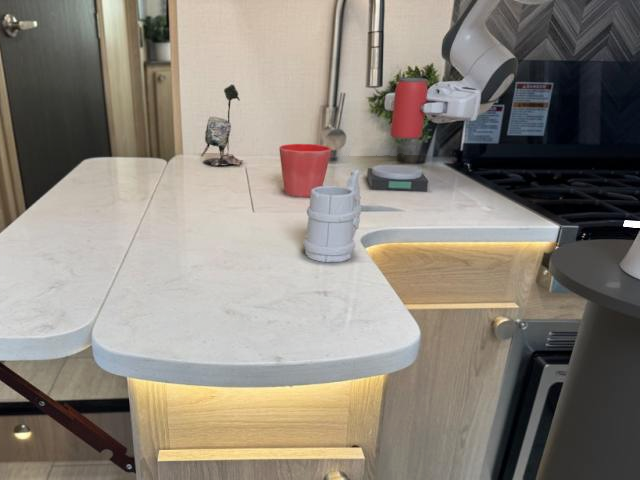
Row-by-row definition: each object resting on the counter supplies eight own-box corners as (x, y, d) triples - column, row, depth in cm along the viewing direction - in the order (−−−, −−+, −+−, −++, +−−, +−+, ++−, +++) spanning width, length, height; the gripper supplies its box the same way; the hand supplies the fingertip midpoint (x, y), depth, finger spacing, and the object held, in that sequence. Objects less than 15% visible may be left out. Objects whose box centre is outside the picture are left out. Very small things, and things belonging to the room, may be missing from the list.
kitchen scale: (417, 179, 133) (419, 164, 132) (427, 191, 122) (429, 175, 120) (366, 178, 135) (368, 163, 133) (371, 190, 123) (372, 174, 122)
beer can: (384, 137, 122) (390, 78, 117) (401, 134, 126) (407, 77, 121) (410, 141, 118) (418, 80, 113) (427, 137, 122) (435, 78, 117)
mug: (293, 255, 85) (296, 176, 80) (335, 237, 93) (340, 164, 88) (335, 267, 80) (342, 184, 75) (376, 247, 88) (384, 171, 83)
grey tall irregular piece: (208, 160, 155) (207, 83, 146) (247, 163, 151) (248, 84, 143) (197, 165, 148) (194, 85, 139) (237, 168, 144) (237, 86, 136)
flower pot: (309, 185, 128) (311, 141, 123) (337, 195, 119) (341, 149, 115) (269, 190, 123) (270, 144, 119) (295, 201, 114) (297, 153, 110)
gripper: (407, 84, 133) (369, 87, 125) (488, 90, 118) (451, 94, 110) (404, 112, 135) (367, 117, 127) (483, 121, 121) (446, 127, 113)
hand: (407, 106), depth 119 cm, fingers closed on beer can, 6 cm apart
